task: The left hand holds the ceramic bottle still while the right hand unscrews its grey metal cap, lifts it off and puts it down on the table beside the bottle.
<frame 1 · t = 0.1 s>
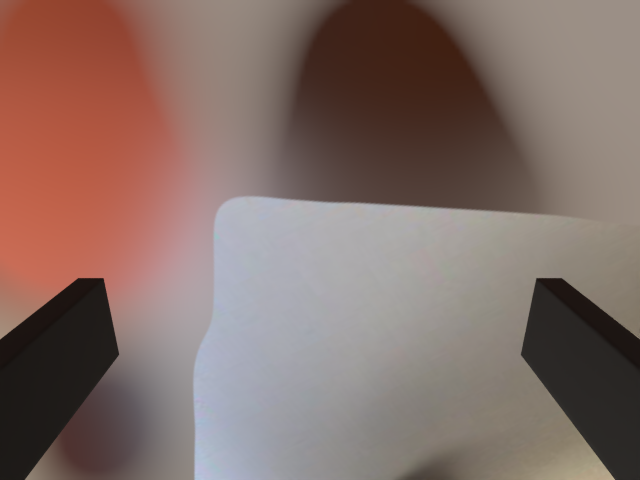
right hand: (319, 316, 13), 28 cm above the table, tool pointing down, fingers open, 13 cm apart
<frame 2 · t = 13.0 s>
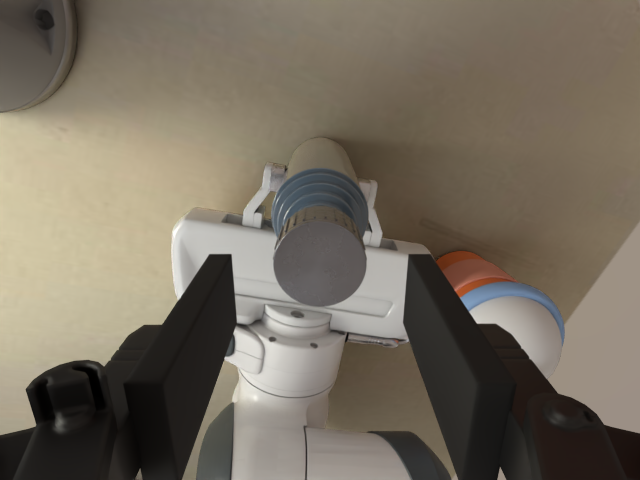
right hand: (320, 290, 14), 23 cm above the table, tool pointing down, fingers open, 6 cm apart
left hand: (321, 172, 30), fingers closed on bottle, 5 cm apart
cap: (319, 262, 17), point 21 cm above the table, screwed on, not yet turned
bottle: (319, 168, 36), on the table, touching left hand
cup with straw: (456, 278, 40), on the table
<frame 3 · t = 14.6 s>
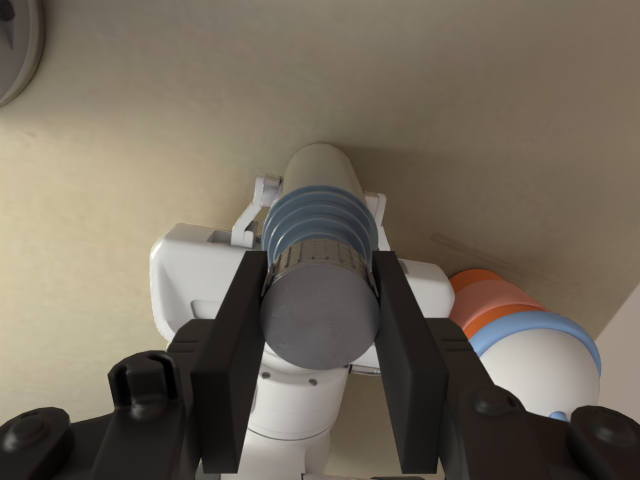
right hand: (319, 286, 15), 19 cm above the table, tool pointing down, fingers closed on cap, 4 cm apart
left hand: (321, 184, 26), fingers closed on bottle, 5 cm apart
cap: (319, 315, 13), point 21 cm above the table, screwed on, not yet turned, touching right hand
bottle: (319, 177, 32), on the table, touching left hand
cup with straw: (470, 298, 36), on the table
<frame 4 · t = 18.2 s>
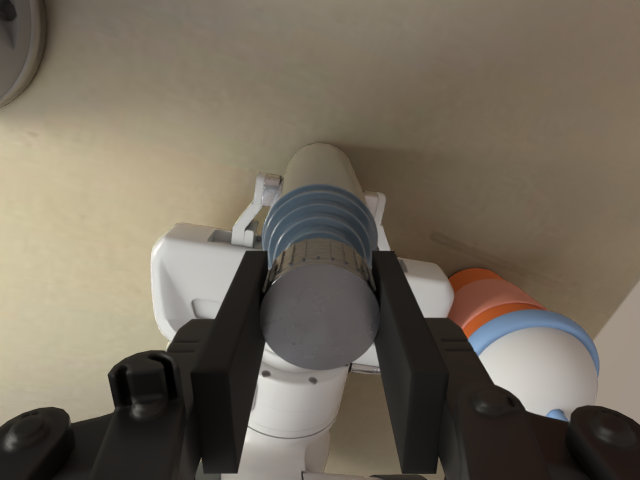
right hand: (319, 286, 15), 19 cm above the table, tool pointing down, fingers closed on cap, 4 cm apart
left hand: (321, 183, 26), fingers closed on bottle, 5 cm apart
cap: (319, 315, 13), point 21 cm above the table, turned 128° so far, risen 0.2 cm, still on its thread, touching right hand
bottle: (319, 177, 32), on the table, touching left hand
cup with straw: (470, 297, 36), on the table
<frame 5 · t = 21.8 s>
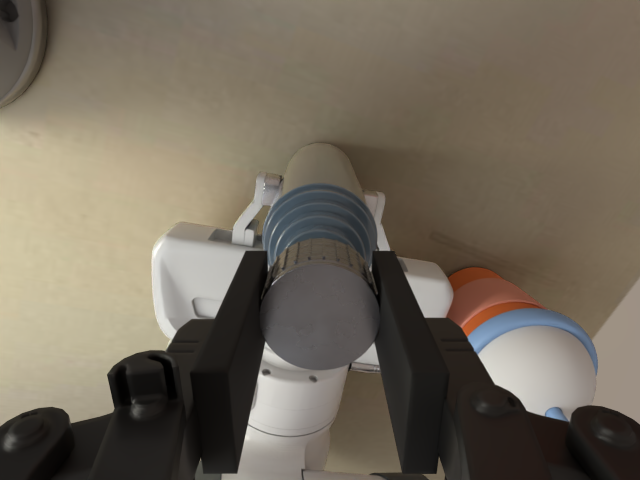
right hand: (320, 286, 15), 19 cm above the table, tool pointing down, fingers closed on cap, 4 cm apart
left hand: (321, 183, 26), fingers closed on bottle, 5 cm apart
cap: (319, 315, 13), point 21 cm above the table, turned 257° so far, risen 0.3 cm, still on its thread, touching right hand
bottle: (319, 176, 33), on the table, touching left hand
cup with straw: (469, 296, 36), on the table
when the right hand's fingers open (1 cm above the table, at t = 32.3 s): cap drops 1 cm, point 2 cm above the table.
when the left hand's fingers open (6 cm above the table, at t = 33.6 s): bottle stays where it is, on the table.
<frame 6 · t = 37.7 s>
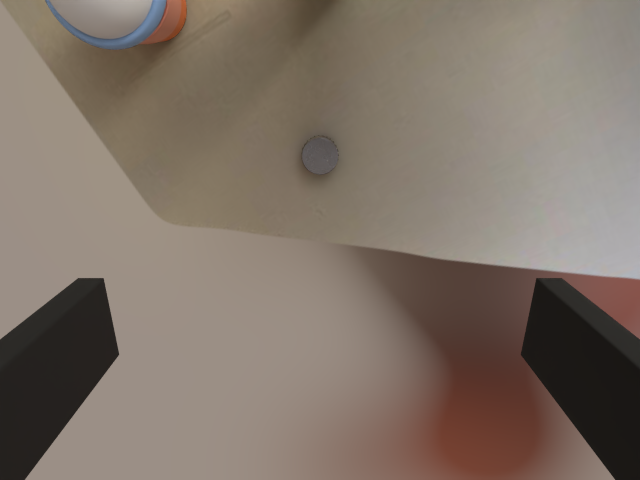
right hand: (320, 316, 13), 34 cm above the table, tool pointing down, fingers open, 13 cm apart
cap: (320, 156, 42), point 2 cm above the table, off its thread
cup with straw: (155, 7, 39), on the table
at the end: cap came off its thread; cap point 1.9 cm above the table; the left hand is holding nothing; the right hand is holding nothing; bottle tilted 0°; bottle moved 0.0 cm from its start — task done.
